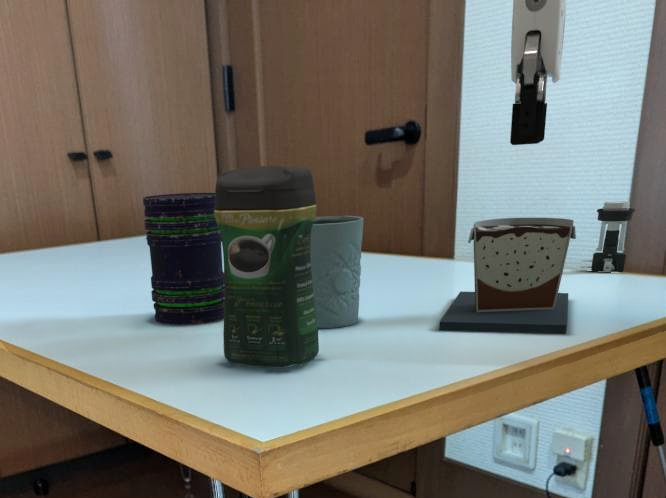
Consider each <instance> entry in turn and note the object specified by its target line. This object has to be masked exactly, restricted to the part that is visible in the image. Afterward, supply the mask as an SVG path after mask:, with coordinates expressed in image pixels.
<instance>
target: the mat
mask: <svg viewBox="0 0 666 498" xmlns="http://www.w3.org/2000/svg"><path fill="white" fill-rule="evenodd" d="M568 313H569V293H568V292H558V295H557V300H556V304H555V309H551V310H525V311H498V312H476V311H475V291H460V292H459V293H458V294H457V296H455V299H454V300H453V301H452V303H451V304H450V306H449V307H448V308H447V311H445V313H444V315H443V316H442V317H441V319H440V320H439V324H438V330H439V331H453V332H454V331H455V332H456V331H457V332H458V331H459V332H485V333H486V332H488V333H489V332H490V333H491V332H492V333H521V334H522V333H523V334H527V333H528V334H553V335H554V334H555V335H557V334H559V335H566V334H567V329H568V315H569V314H568Z"/></svg>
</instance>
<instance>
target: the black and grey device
mask: <svg viewBox="0 0 666 498" xmlns="http://www.w3.org/2000/svg"><path fill="white" fill-rule="evenodd" d="M630 204H631V202H630V201H624V200H623V201H621V200H620V201H619V200H617V201H614V200H613V201H604V203H603V206H602V208H598V209H596V213H597V221H599V222H601V223H600V230H599V231H600V232H599V237H598V245H597V247H596V248H595V251H596V252H594V253H592V259H587V260H586V259H585V260H584V259H583V260H582V259H581V260H580V262H583V263H584V262H587V263H591V265H589V266H588V265H587V266H584V265H583V266H582V265H581V266H580V267H579V268H581V269H585V268H586V269H591V270H590V271H591V272H593V273H595V272H596V273H623V272H624V270H625V263H626V257H627V255H626V252H624V251H625V247H624V242H625V235H626V229H627V223H628V222H630V221H631V220H632V219H633V213H635V212H636V209H635V208H633V207H631V206H630ZM620 225H621V227H620ZM606 226H607V227H606Z"/></svg>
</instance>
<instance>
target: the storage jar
mask: <svg viewBox="0 0 666 498" xmlns="http://www.w3.org/2000/svg"><path fill="white" fill-rule="evenodd" d="M142 204H143V206H144V209H143V215H144V218H146V219H144V220H143V221H144V229H145V230H146V233H145V234H146V238H145V240H146V243H147V246H148V247H149V256H150V265H151V266H150V267H151V277H150V285H151V289H152V290H151V291H150V292H151V293H150V294H151V301H152V302H154V303H153V310H154V311H155V312H154V313H155V314H154V321H155V323H157V324H162V325H167V326H198V325H205V324H212V323H217V322H220V321H224V265H223V249H222V239H221V234H220V231H219V228H218V225H217V222H216V219H215V213H214V211H215V192H187V193H185V192H184V193H168V194H167V193H166V194H156V195H147V196H144V197H142Z"/></svg>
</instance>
